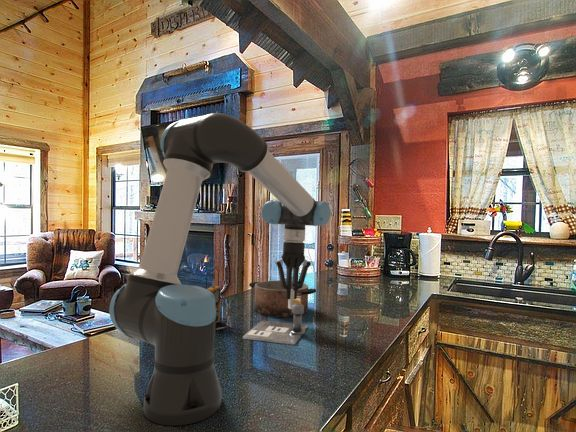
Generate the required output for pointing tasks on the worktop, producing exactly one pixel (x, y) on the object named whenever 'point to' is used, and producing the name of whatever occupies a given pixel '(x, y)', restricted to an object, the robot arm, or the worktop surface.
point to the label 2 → (277, 329)
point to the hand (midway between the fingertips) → (290, 308)
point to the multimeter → (216, 298)
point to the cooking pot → (277, 298)
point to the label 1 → (259, 333)
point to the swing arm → (297, 306)
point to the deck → (288, 338)
